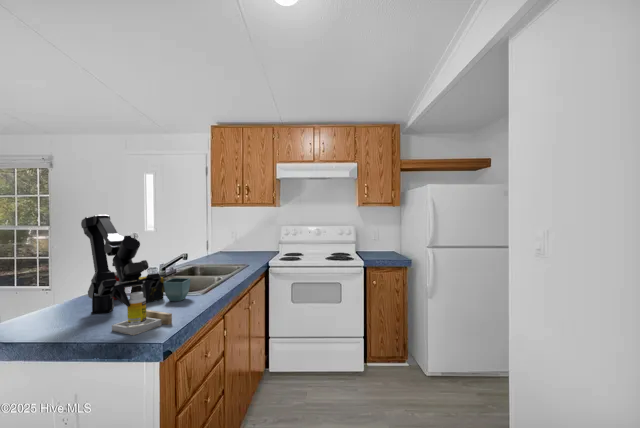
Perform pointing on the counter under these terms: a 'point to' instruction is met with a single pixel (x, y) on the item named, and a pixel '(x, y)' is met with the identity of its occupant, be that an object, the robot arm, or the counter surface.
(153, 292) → the yellow and black cube
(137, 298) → the supplement bottle
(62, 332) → the counter surface
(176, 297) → the flower pot
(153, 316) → the oak sill
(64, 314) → the counter surface
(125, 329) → the square tray
